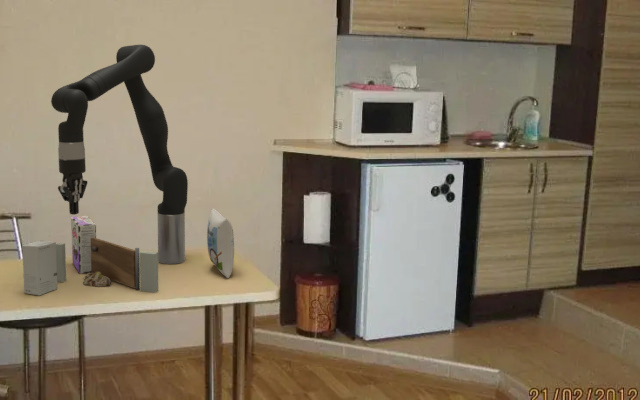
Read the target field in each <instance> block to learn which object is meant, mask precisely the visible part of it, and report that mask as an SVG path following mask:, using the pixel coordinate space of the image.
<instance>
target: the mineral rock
mask: <svg viewBox="0 0 640 400" xmlns="http://www.w3.org/2000/svg"><path fill="white" fill-rule="evenodd" d="M112 282H113V280H111V279H110V278H108V277H106V276H103V275H102V274H101V273H100V272H95V274H94V273H86V275H85V276H84V278H83V282H82V283H83V285H84V286H89V287H95V288H103V287H104V288H105V287H111V285H112Z"/></svg>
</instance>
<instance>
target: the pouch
mask: <svg viewBox="0 0 640 400" xmlns="http://www.w3.org/2000/svg"><path fill="white" fill-rule="evenodd" d="M206 231H207V232H206V235H207V236H206V238H207V239H206V240H207V252H208V256H209V259H210V261H211V263H212V264H213V265H214V266H215V267H216V269H217V270H219V272H220V273H221V274H222V275H223V276H224V277H225V278H226V279H230V276H231V275H232V272H233V268H234V262H235V237H234V236H235V235H234V229H233V226H232V223H231V222H230V220H229V219H227V218H225V216H223V215H222V214H221V213H220V212H219V211H218V210H216V209H215V208H214V207H212V209H211V211H210V213H209V217H208V221H207V230H206Z"/></svg>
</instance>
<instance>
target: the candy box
mask: <svg viewBox="0 0 640 400" xmlns="http://www.w3.org/2000/svg"><path fill="white" fill-rule="evenodd" d="M70 225H71V254H72V255H71V257H72V265H73V266H74V268H75V269H76V271H77V272H78V273H79V274H89V273H91V238H97V224H96V223H95V222H94V221H93V220H92V219H91V218H90V217H89V216H88V215H81V216H71V217H70Z"/></svg>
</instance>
